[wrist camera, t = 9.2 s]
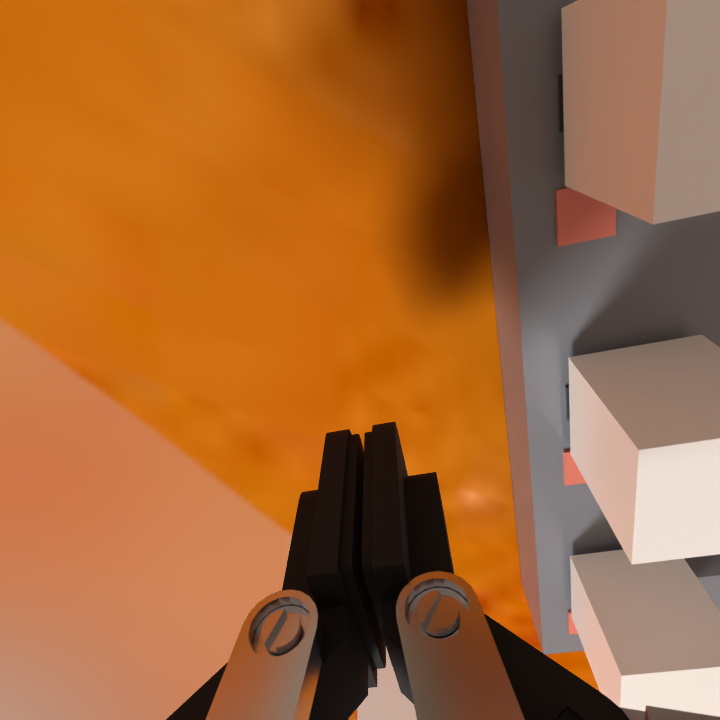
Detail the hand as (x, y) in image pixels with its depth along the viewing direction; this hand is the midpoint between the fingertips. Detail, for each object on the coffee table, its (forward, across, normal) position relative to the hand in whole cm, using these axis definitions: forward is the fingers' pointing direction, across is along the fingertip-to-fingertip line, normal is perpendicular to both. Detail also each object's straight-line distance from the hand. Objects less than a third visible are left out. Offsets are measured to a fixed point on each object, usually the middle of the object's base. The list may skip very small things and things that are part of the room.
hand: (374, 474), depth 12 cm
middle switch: (+1, -7, 0) cm, 7 cm away
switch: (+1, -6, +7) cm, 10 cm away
